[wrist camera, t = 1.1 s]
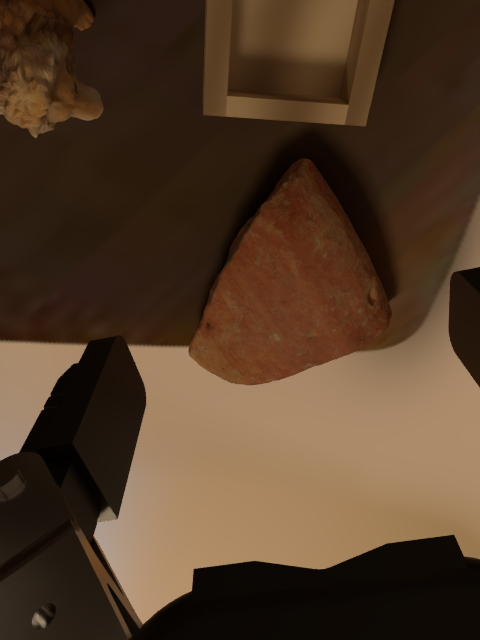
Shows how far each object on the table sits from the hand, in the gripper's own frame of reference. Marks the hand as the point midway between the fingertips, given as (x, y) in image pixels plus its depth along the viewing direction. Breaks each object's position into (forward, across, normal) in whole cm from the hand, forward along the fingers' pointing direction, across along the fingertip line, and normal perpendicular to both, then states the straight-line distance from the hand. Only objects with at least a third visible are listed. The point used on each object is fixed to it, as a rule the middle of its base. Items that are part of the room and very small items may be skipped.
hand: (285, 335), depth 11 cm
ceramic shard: (+22, +1, +9) cm, 24 cm away
